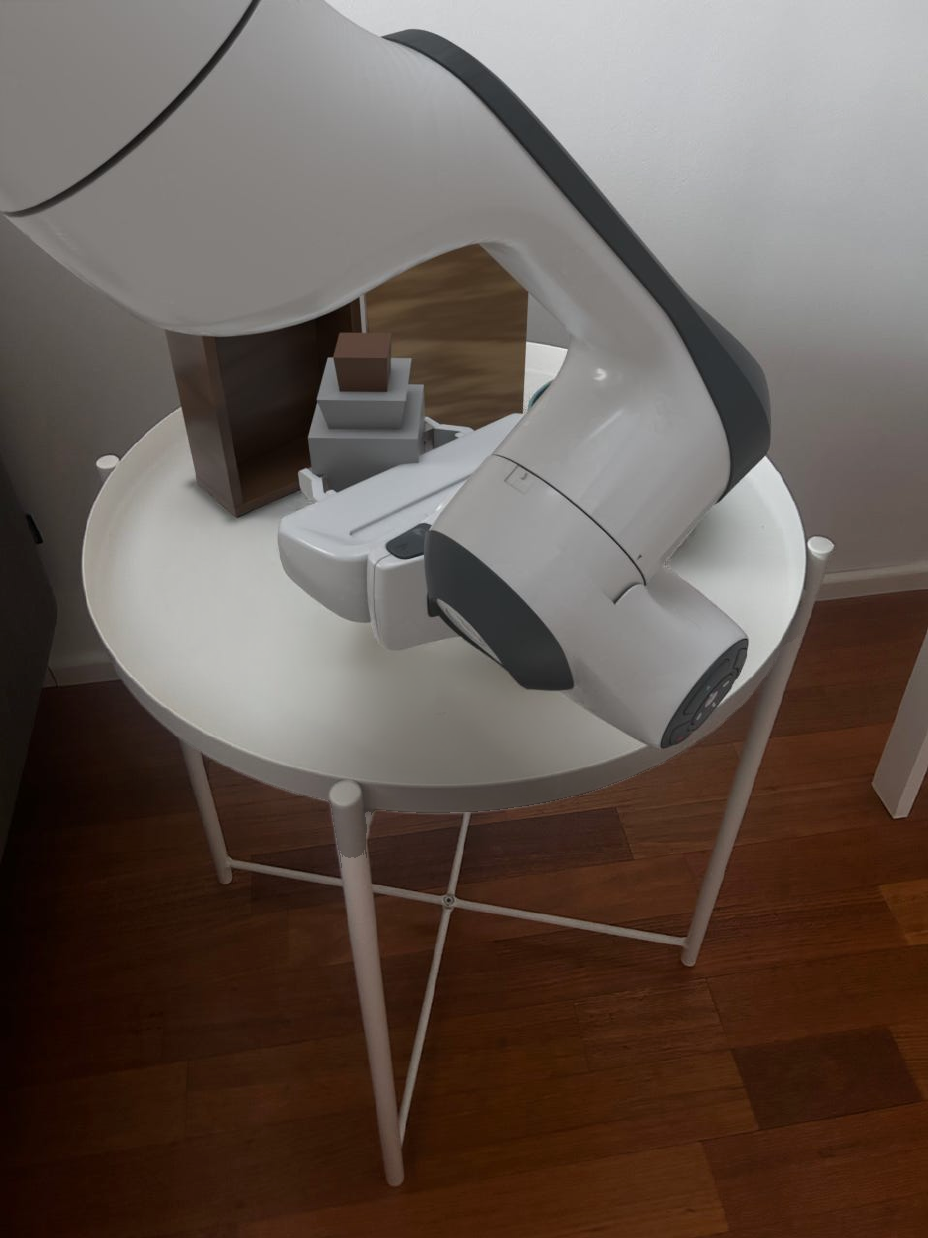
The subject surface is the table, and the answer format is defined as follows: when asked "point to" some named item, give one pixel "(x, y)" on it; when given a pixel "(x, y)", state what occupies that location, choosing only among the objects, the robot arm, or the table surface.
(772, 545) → the table surface
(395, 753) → the table surface
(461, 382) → the cupboard door
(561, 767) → the table surface
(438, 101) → the robot arm
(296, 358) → the cupboard
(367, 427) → the perfume bottle
